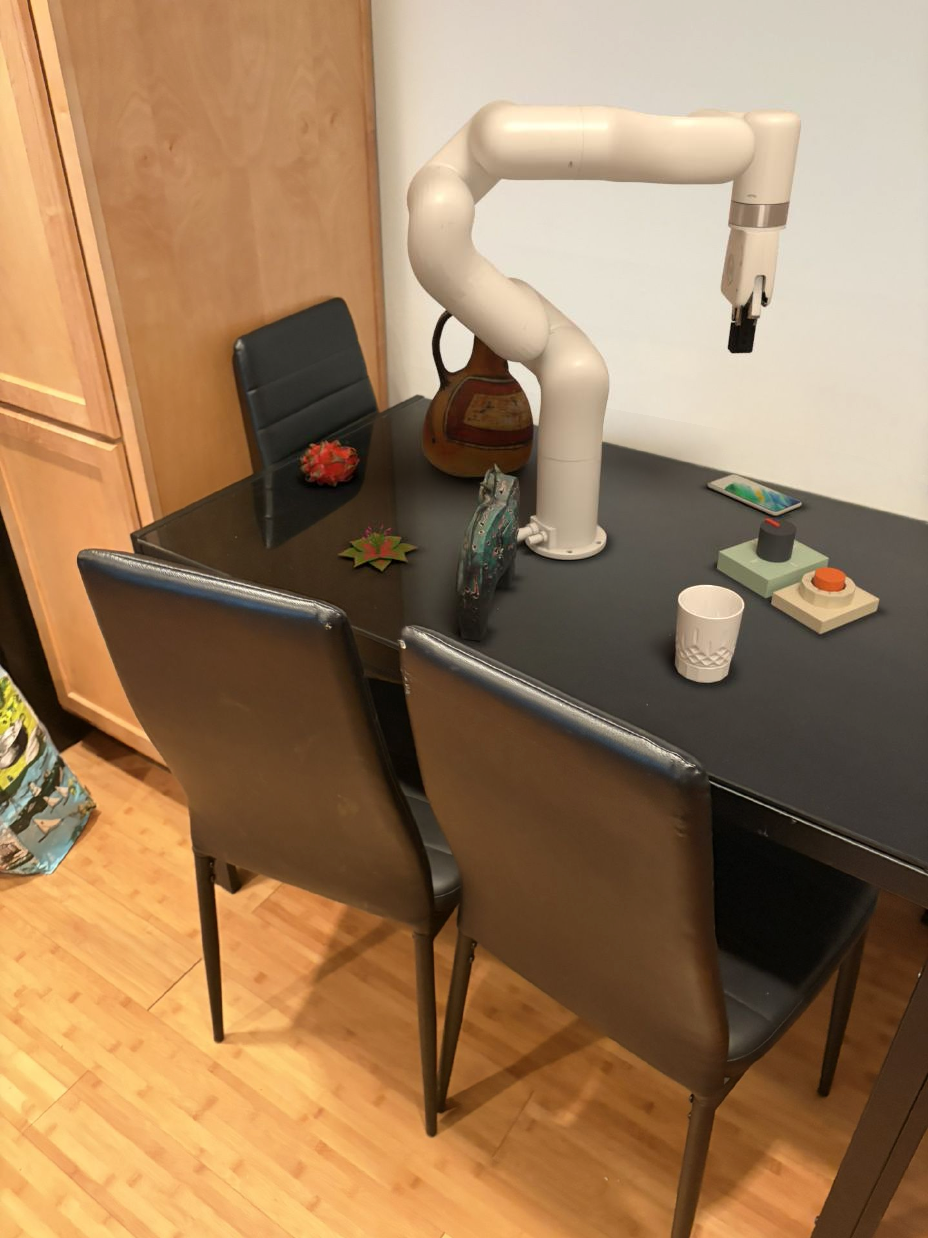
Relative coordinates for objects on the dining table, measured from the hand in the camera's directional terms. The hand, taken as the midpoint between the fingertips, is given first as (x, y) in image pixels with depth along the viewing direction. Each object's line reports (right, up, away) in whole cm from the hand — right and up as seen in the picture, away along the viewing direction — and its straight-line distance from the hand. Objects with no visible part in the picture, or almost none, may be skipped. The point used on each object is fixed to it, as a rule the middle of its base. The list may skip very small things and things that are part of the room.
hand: (739, 351), depth 138 cm
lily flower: (-53, -29, +12) cm, 61 cm away
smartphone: (+10, -18, +26) cm, 33 cm away
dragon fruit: (-63, -14, +35) cm, 73 cm away
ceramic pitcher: (-37, -11, +39) cm, 55 cm away
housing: (+11, -37, -4) cm, 38 cm away
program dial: (+6, -29, +3) cm, 30 cm away
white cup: (-9, -45, -15) cm, 48 cm away
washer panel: (+6, -31, +5) cm, 32 cm away
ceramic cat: (-36, -37, -1) cm, 51 cm away
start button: (+10, -34, -6) cm, 36 cm away
